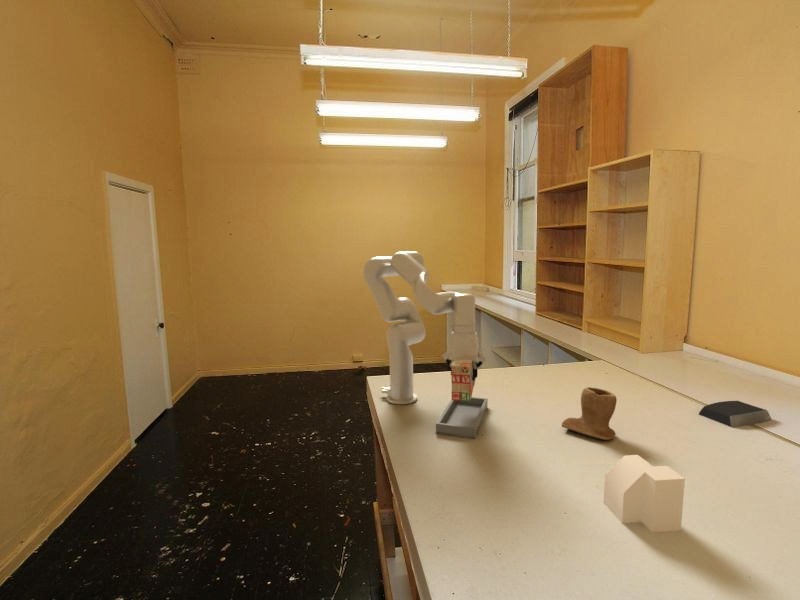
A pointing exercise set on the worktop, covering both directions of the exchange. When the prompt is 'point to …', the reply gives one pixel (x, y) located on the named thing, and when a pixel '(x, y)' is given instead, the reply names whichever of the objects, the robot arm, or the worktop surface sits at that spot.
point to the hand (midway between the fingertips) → (464, 377)
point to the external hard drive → (735, 413)
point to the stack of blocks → (462, 380)
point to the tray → (462, 418)
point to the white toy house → (645, 494)
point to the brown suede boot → (594, 414)
